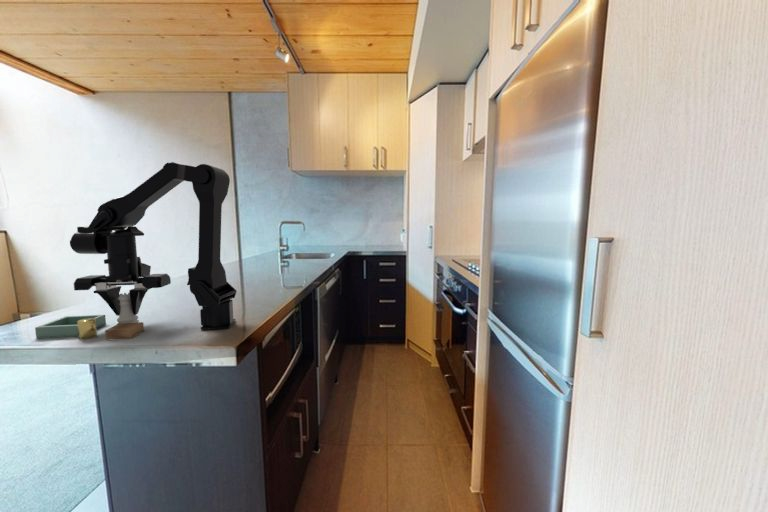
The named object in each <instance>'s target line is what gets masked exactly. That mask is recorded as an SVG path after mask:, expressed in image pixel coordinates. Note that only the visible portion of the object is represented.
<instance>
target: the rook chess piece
mask: <svg viewBox="0 0 768 512" xmlns="http://www.w3.org/2000/svg"><path fill="white" fill-rule="evenodd" d="M118 299H119V300H120V304H119V305H120V306H121V309H120V315H119V316H118V318H117V319H116V321H117V323H116V325H117V324H119V323H138V322H139V321H140V320H139V317H138V314H136V315H134V314H133V311H132V305H131V299H130V293H129V292H128V293H126V292H124V293H119V297H118Z"/></svg>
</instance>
